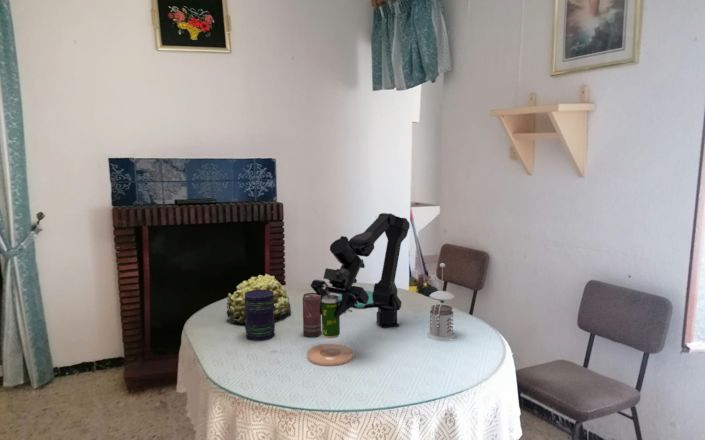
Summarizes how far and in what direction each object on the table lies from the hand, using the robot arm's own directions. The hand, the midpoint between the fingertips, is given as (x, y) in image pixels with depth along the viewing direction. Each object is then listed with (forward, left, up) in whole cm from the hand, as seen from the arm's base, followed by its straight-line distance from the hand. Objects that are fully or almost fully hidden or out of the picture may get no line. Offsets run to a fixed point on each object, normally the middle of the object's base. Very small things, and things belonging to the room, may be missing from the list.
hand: (328, 315), depth 149 cm
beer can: (-1, -1, -7) cm, 7 cm away
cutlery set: (-26, -49, -14) cm, 58 cm away
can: (-1, -21, -13) cm, 25 cm away
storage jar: (+16, -26, -13) cm, 33 cm away
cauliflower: (+13, -48, -14) cm, 51 cm away
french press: (-41, -4, -13) cm, 43 cm away
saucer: (-1, -1, -13) cm, 13 cm away
